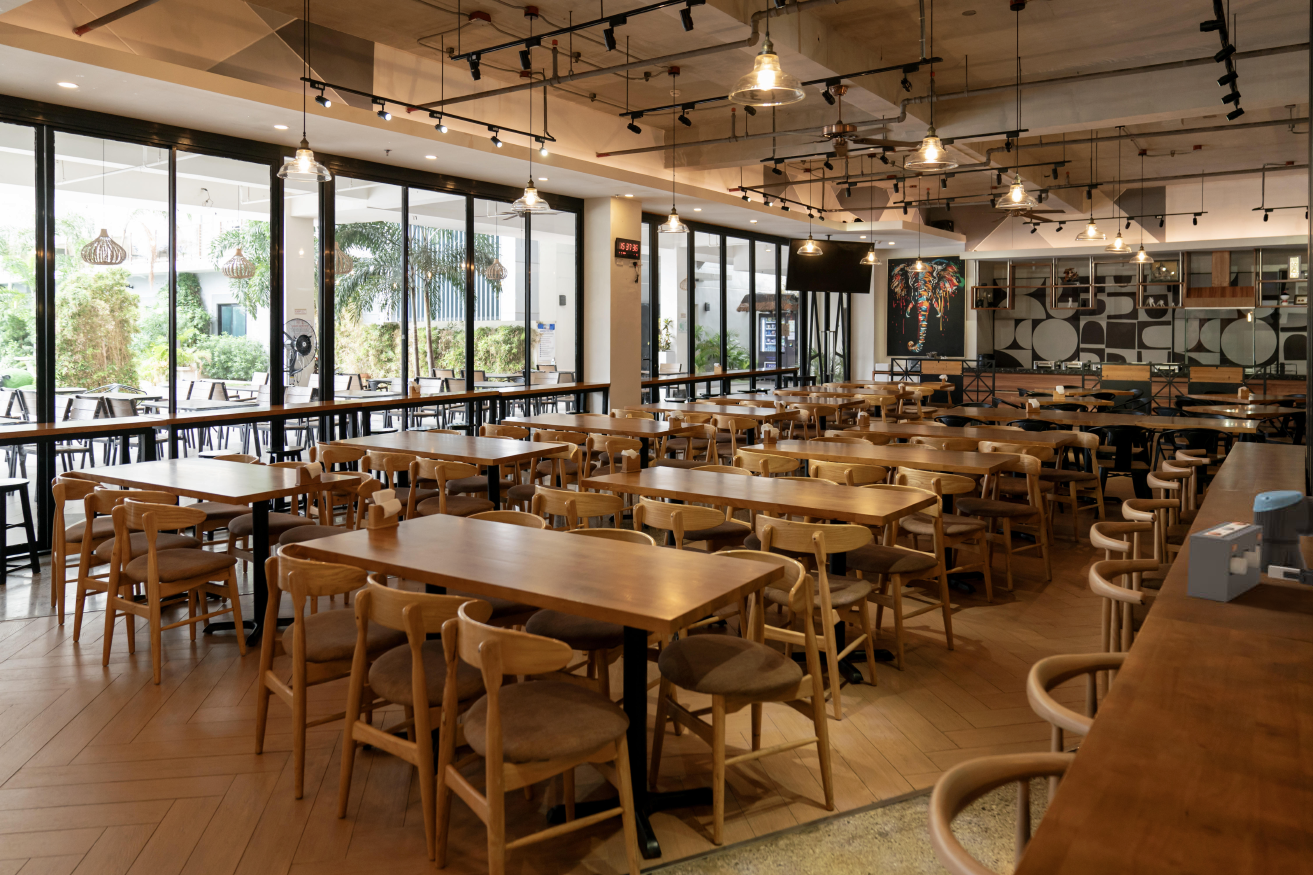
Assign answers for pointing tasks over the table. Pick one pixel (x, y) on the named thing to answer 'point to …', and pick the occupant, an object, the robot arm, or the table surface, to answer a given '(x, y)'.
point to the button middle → (1252, 558)
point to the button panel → (1222, 561)
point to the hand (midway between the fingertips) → (1269, 571)
